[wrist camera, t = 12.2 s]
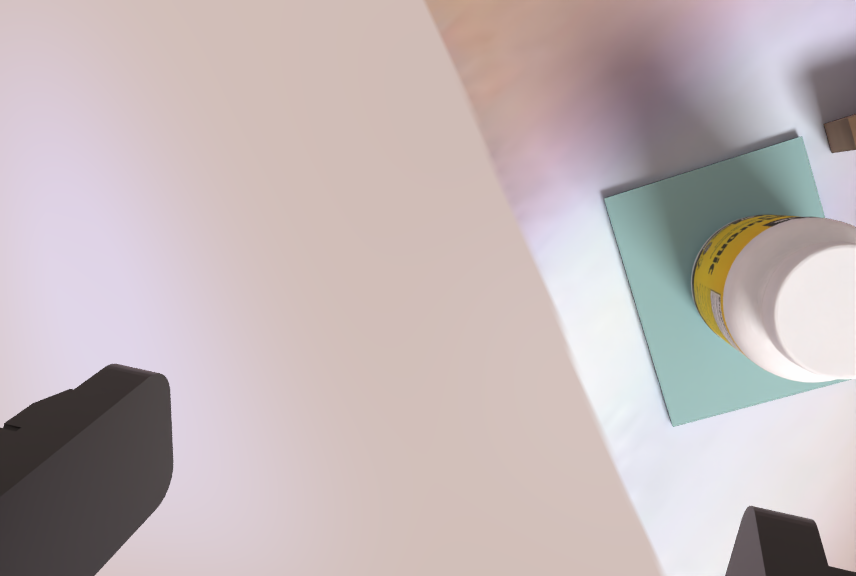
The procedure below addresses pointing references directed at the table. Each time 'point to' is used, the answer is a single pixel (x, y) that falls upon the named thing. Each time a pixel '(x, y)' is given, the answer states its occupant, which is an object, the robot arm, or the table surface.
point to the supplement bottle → (782, 294)
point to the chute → (842, 134)
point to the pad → (673, 262)
